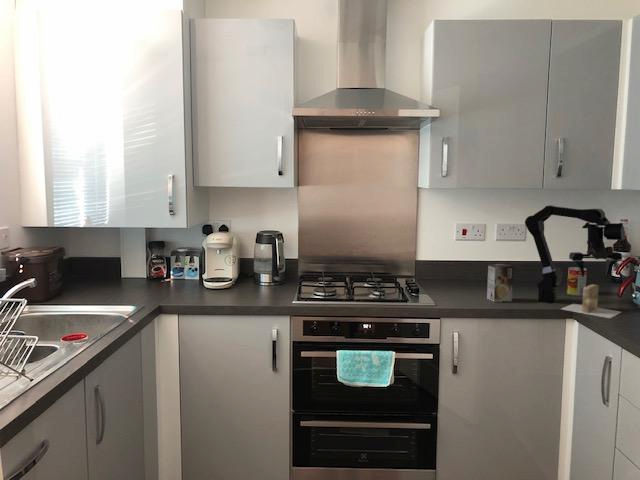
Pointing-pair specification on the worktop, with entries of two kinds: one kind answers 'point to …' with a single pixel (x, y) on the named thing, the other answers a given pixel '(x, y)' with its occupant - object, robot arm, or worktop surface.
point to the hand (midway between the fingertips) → (594, 276)
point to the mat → (595, 312)
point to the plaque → (590, 298)
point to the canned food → (576, 281)
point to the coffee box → (500, 282)
